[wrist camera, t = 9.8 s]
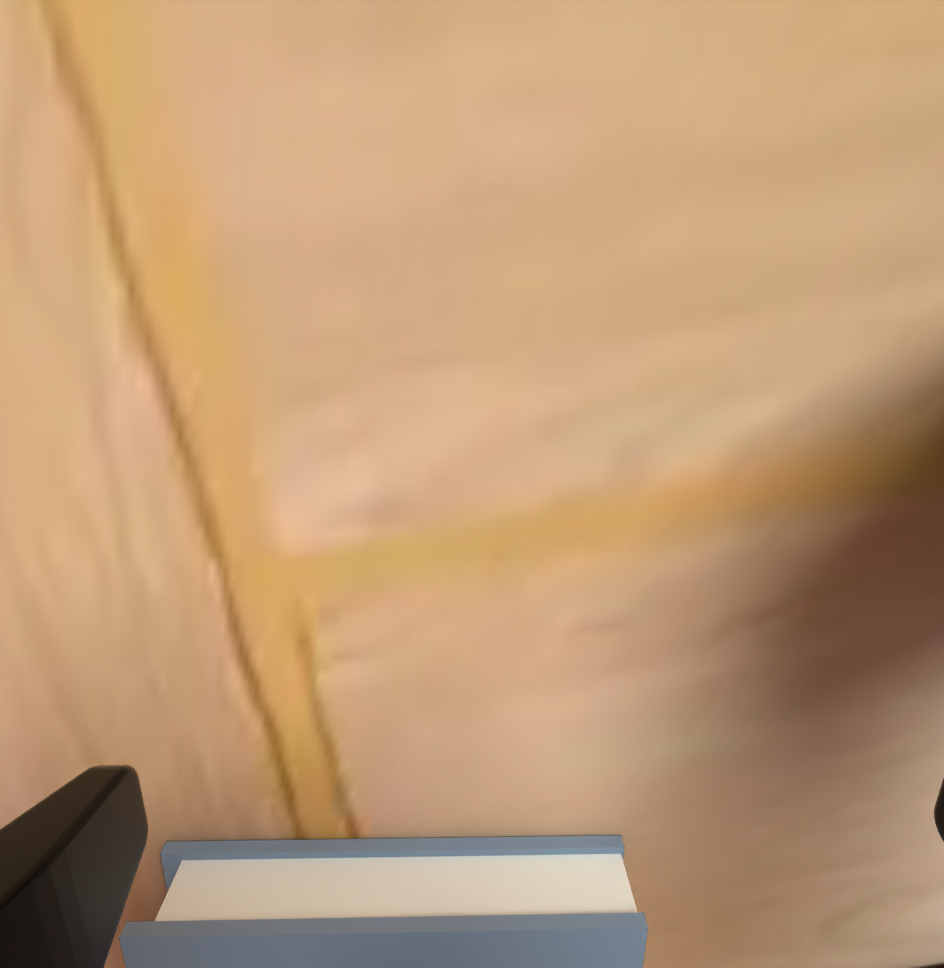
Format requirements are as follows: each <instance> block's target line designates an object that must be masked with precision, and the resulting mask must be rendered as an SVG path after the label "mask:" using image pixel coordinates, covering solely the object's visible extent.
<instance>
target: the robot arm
mask: <svg viewBox="0 0 944 968" xmlns="http://www.w3.org/2000/svg"><path fill="white" fill-rule="evenodd" d="M934 818H935V823H936V826H937V829H938V832H939V834H940V836H941V838H942V840H943V842H944V778H943V782H942V785H941V788H940V791H939V795H938V798H937V801H936V804H935V809H934ZM147 833H148V823H147V817H146V812H145V807H144V802H143V797H142V792H141V787H140V783H139V778H138V775H137V772H136V770H135V769H134V768H133V767H131V766H128V765H99V766H94V767H91V768H89V769H88V770H86V771H84V772H83V773H81V774H80V775H78V776H77V777H76V778H74V779H73V780H71V781H70V782H68V783H67V784H65V785H64V786H63V787H61V788H60V789H58V790H57V791H55V792H54V793H52V794H51V795H49V796H48V797H47V798H45V799H44V800H42V801H41V802H39V803H38V804H36V805H35V806H34V807H32V808H31V809H29V810H28V811H26V812H25V813H23V814H22V815H20V816H19V817H18V818H16V819H15V820H13V821H12V822H10V823H9V824H7V825H6V826H5V827H3V828H2V829H0V968H103V967H104V964H105V961H106V958H107V955H108V953H109V950H110V947H111V944H112V941H113V938H114V935H115V932H116V929H117V927H118V924H119V921H120V918H121V915H122V912H123V909H124V906H125V903H126V901H127V898H128V895H129V892H130V889H131V886H132V883H133V880H134V877H135V875H136V872H137V869H138V866H139V863H140V860H141V857H142V854H143V851H144V848H145V845H146V840H147Z"/></svg>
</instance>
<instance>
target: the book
mask: <svg viewBox="0 0 944 968" xmlns="http://www.w3.org/2000/svg"><path fill="white" fill-rule="evenodd" d="M623 855H624V844H623V841H622V837H621V835H602V836H529V837H457V838H384V839H311V840H239V841H166V843H165V845H164V847H163V849H162V851H161V853H160V856H161V861H162V866H163V872H164V877H165V882H166V888H167V895H166V897H165V899H164V901H163V904H162V906H161V908H160V910H159V913H158V915H157V917H156V919H155V921H135V922H126V924H125V926H124V928H123V930H122V932H121V935H120V937H119V940H120V945H121V949H122V953H123V958H124V962H125V966H126V968H643V961H644V954H645V947H646V939H647V932H648V926H647V922H646V919H645V916H644V913H638V912H637V909H636V905H635V902H634V898H633V895H632V891H631V888H630V884H629V881H628V877H627V874H626V870H625V867H624V863H623Z"/></svg>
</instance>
